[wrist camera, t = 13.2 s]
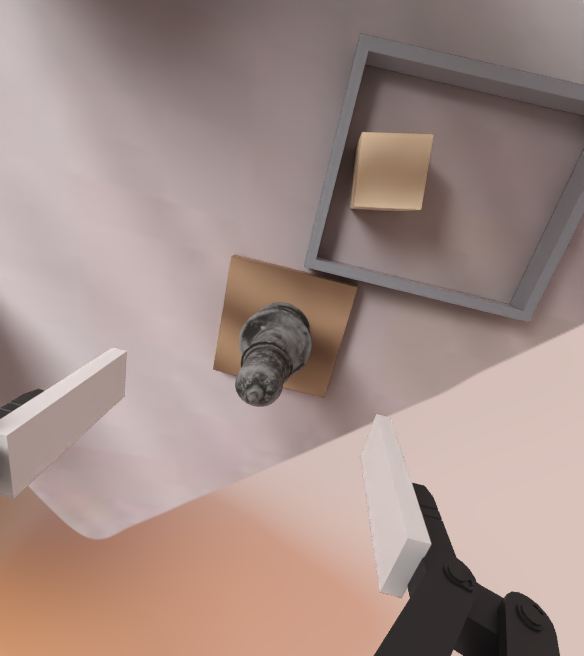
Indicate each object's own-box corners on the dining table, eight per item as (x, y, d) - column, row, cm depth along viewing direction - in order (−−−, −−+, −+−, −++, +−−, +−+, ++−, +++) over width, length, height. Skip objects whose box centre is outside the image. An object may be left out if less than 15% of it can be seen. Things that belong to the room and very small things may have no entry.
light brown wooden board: (235, 254, 28) (231, 256, 27) (356, 284, 28) (357, 287, 27) (217, 364, 32) (213, 369, 31) (324, 391, 32) (324, 397, 31)
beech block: (356, 147, 25) (362, 131, 21) (415, 149, 25) (433, 134, 20) (349, 208, 26) (354, 206, 22) (405, 211, 26) (421, 209, 22)
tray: (357, 48, 23) (360, 33, 21) (615, 108, 23) (641, 98, 21) (305, 263, 28) (303, 266, 26) (514, 315, 28) (528, 322, 26)
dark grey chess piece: (311, 362, 30) (303, 450, 18) (248, 358, 30) (203, 440, 19) (315, 300, 28) (308, 355, 16) (248, 296, 28) (196, 347, 17)
